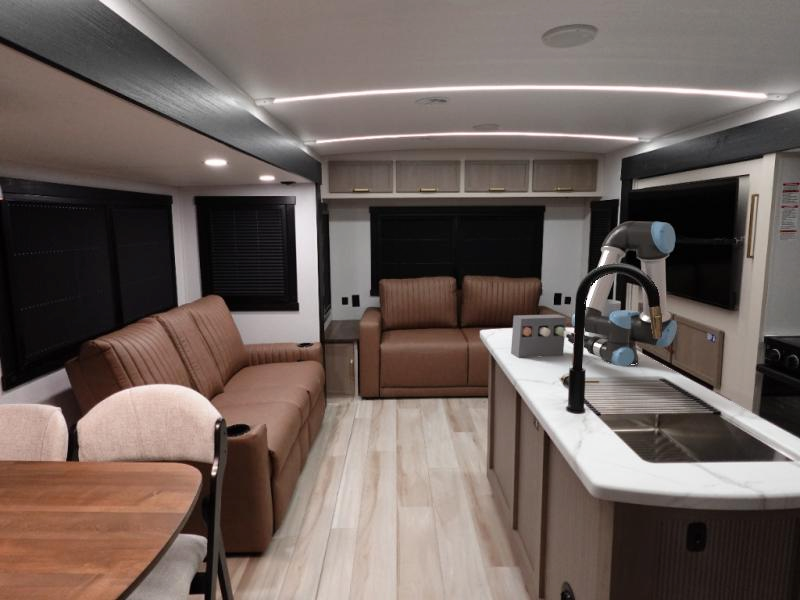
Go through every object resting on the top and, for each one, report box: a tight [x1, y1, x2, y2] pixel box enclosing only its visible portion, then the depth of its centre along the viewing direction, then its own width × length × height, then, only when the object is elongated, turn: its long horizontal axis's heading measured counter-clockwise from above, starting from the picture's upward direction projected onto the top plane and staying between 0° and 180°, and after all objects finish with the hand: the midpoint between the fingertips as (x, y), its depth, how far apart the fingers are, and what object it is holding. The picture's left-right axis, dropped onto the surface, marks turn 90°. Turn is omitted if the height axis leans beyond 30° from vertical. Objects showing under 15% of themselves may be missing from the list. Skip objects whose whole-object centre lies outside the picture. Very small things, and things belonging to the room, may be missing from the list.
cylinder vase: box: [588, 298, 622, 340], centre depth 233 cm, size 12×12×25 cm
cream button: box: [538, 326, 550, 337], centre depth 223 cm, size 4×4×4 cm
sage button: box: [554, 326, 567, 336], centre depth 225 cm, size 4×4×4 cm
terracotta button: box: [522, 326, 531, 336], centre depth 223 cm, size 4×4×4 cm
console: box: [510, 313, 567, 359], centre depth 227 cm, size 23×7×18 cm, turn 105°
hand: (565, 333), depth 220 cm, fingers closed
